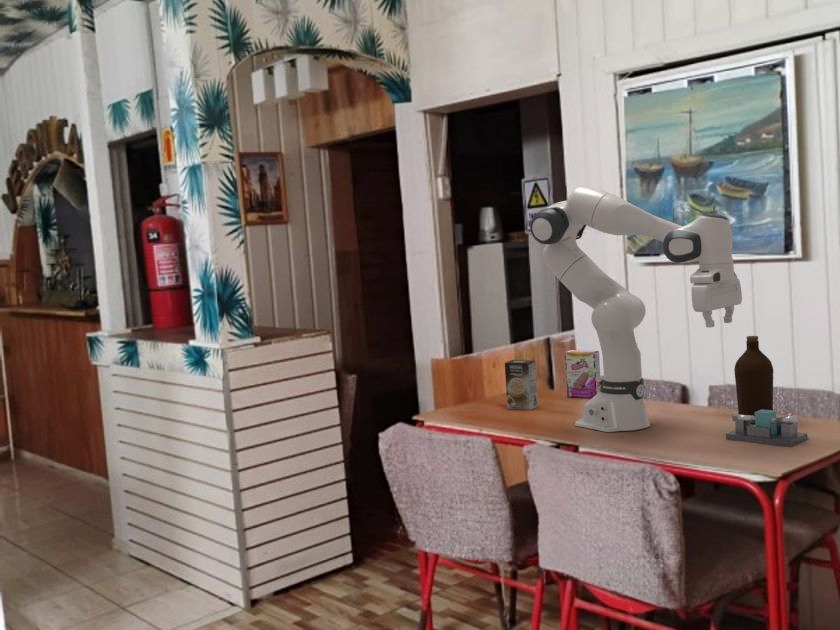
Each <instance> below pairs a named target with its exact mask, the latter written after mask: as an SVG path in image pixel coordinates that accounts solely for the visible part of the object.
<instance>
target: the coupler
mask: <svg viewBox="0 0 840 630" xmlns="http://www.w3.org/2000/svg"><path fill="white" fill-rule="evenodd" d="M776 419H777V411H776V410H774V409H773V410H759V411H756V412H755V425H754V426H755V427H765V428H771V435H773V434H775V433H777V425H776Z"/></svg>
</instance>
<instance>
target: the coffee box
mask: <svg viewBox="0 0 840 630" xmlns="http://www.w3.org/2000/svg"><path fill="white" fill-rule="evenodd" d="M536 367H537V366H536V360H531V359H530V360H529V359H511V360H509V361H506V362H504V373H505V377H504V378H505V391H506V408H507V409H510V410H525V411H526V410H527V411H530V410H533V409H536V408H537V406H539V405H538V404H539V401H538V388H537V387H538V384H537V368H536Z"/></svg>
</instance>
